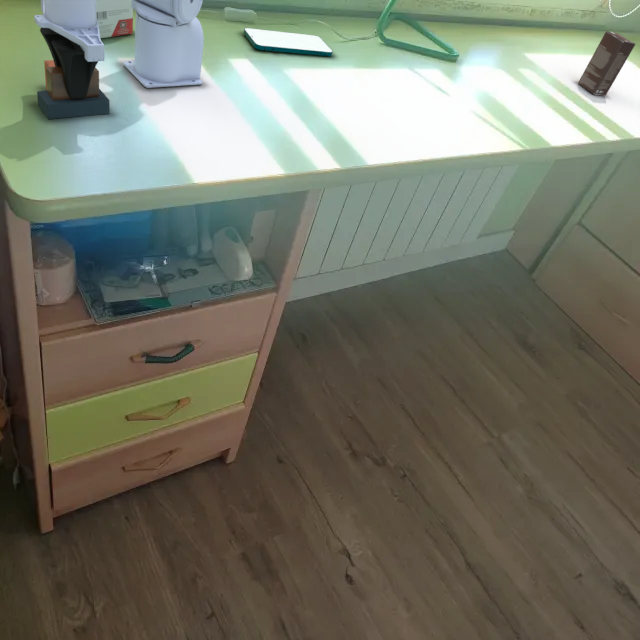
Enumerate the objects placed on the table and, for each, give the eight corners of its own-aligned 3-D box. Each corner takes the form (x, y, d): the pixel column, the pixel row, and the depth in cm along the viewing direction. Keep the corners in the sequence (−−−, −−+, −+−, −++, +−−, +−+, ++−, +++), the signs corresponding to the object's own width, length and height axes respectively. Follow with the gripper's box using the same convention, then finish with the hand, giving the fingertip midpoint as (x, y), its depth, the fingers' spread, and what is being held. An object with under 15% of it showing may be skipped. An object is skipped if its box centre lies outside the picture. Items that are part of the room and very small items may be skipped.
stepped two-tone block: (98, 101, 83) (98, 61, 79) (109, 114, 81) (109, 74, 78) (38, 105, 79) (34, 63, 75) (48, 119, 77) (45, 77, 73)
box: (606, 96, 140) (637, 43, 132) (592, 94, 138) (622, 41, 130) (590, 84, 144) (619, 32, 136) (576, 82, 142) (604, 30, 134)
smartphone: (317, 40, 121) (241, 32, 114) (318, 35, 120) (242, 27, 113) (333, 57, 116) (255, 50, 109) (334, 53, 116) (256, 45, 108)
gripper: (10, -47, 71) (21, 68, 80) (58, 3, 64) (64, 123, 73) (71, -43, 75) (75, 66, 84) (122, 4, 68) (120, 117, 77)
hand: (73, 92), depth 78 cm, fingers closed on stepped two-tone block, 2 cm apart
